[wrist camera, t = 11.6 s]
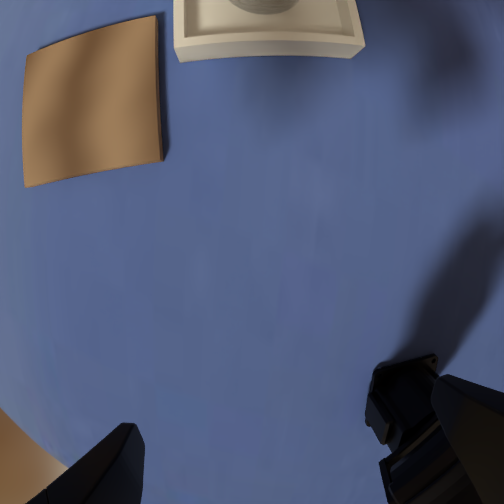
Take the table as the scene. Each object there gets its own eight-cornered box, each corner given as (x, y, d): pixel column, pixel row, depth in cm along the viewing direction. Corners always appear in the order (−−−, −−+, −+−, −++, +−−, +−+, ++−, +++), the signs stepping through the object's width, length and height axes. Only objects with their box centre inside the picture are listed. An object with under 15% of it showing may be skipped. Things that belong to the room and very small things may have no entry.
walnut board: (158, 21, 16) (155, 15, 15) (163, 161, 18) (160, 160, 17) (33, 59, 15) (26, 55, 14) (32, 187, 18) (24, 187, 17)
